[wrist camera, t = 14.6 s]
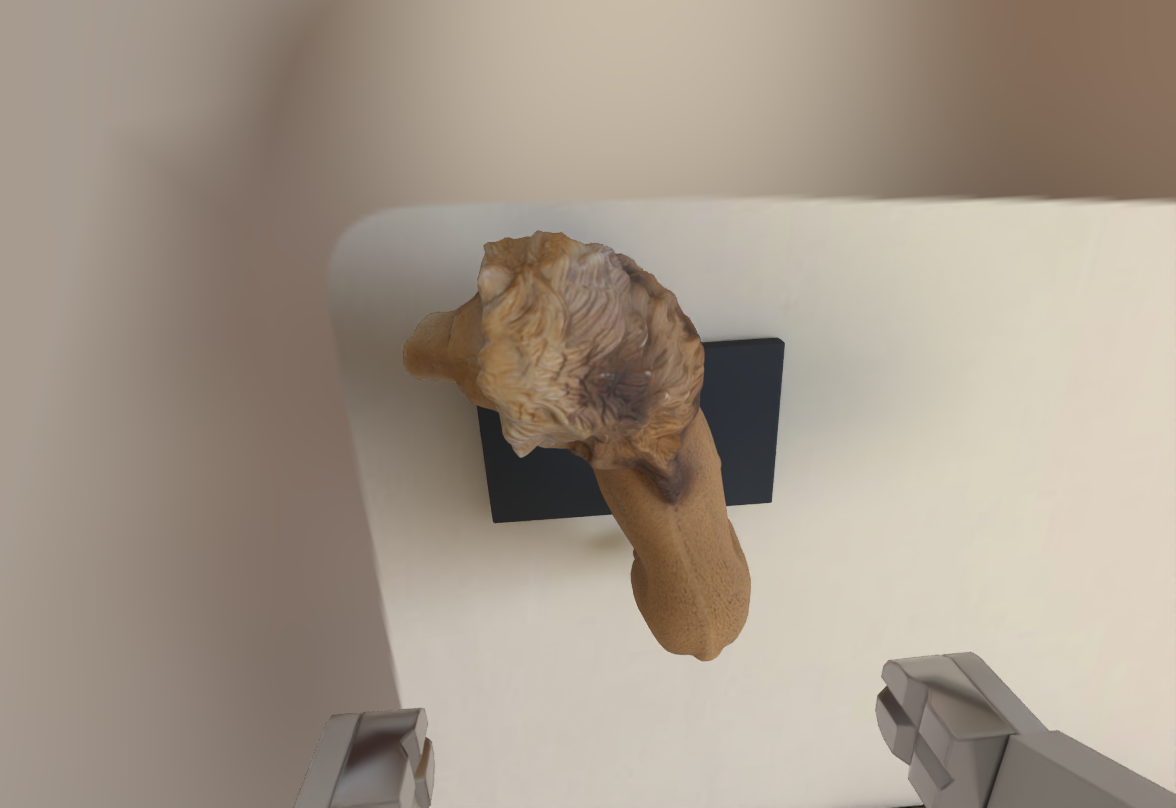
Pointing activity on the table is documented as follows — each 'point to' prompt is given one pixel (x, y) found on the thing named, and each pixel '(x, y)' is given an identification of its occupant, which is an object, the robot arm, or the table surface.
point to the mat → (732, 410)
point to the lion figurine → (605, 413)
